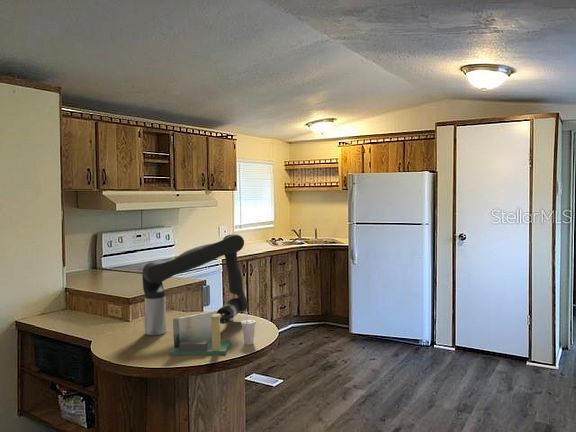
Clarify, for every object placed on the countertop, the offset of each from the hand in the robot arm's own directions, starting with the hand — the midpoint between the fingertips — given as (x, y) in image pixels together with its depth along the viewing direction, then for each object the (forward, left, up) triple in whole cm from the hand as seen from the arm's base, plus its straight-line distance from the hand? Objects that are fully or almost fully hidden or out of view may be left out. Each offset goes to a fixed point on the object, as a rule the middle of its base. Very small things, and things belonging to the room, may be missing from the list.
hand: (213, 323), depth 216 cm
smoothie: (+16, -3, -8) cm, 18 cm away
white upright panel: (-6, -7, -6) cm, 11 cm away
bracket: (-4, -10, -8) cm, 13 cm away
